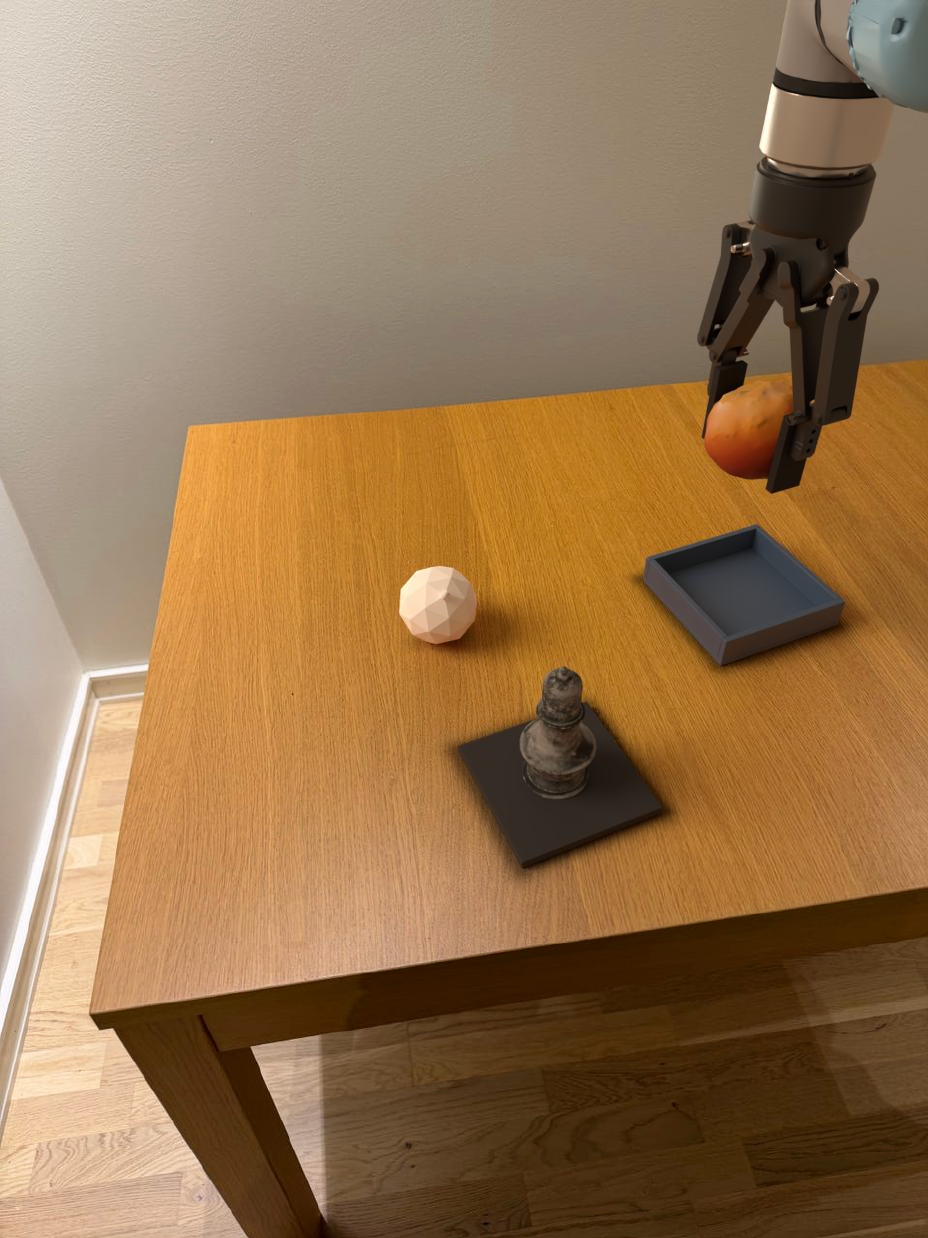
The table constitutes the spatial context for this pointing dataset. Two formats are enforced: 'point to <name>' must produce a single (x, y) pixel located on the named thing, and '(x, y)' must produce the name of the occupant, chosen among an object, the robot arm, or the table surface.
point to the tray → (741, 593)
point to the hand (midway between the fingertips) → (748, 460)
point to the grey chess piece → (558, 739)
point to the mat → (557, 823)
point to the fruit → (748, 428)
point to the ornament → (438, 604)
